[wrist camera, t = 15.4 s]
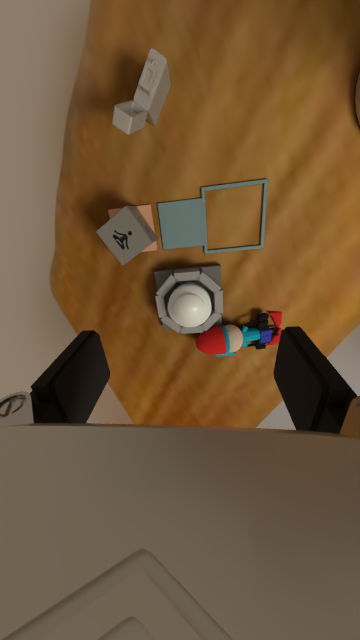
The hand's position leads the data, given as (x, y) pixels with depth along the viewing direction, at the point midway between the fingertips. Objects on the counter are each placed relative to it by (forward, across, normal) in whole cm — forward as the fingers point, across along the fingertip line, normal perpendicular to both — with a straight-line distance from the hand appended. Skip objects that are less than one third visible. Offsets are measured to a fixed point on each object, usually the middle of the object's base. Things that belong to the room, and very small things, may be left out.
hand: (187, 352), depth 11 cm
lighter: (+24, +5, -16) cm, 30 cm away
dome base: (+24, +1, +7) cm, 25 cm away
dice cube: (+24, +9, -4) cm, 25 cm away
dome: (+22, +1, +7) cm, 23 cm away
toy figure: (+24, -7, +14) cm, 29 cm away
